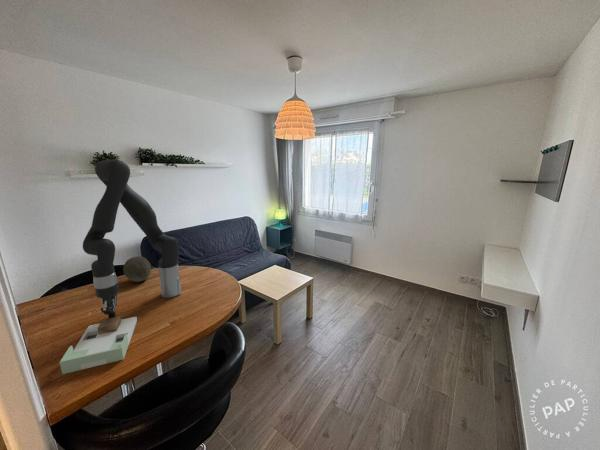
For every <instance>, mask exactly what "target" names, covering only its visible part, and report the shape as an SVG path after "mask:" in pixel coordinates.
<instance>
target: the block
mask: <svg viewBox="0 0 600 450" xmlns="http://www.w3.org/2000/svg"><path fill="white" fill-rule="evenodd" d="M120 323H121V316H119V315H118V316H116V317H112V318H109V317H108V318H104V319H102V320H101V322H100V325H99V326H98V328H97V329H98V334H104V333H109V332H114V331H117V329H118V327H119V325H120Z"/></svg>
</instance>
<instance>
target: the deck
mask: <svg viewBox="0 0 600 450" xmlns="http://www.w3.org/2000/svg"><path fill="white" fill-rule="evenodd" d="M120 320H121V323H120V325H119V327H118V329H117V331H114V332H109V333H104V334H98V329H97V328H98V326H99V325H100V323H101V322H100V323H95V324H91V325H88V327H87V328H86V329H85V331H84V333H83V334H82V336H81V338H80V339H79V341H78V343H77V344H76V345H75V347H74V346H73V345H70V346H69V347H68V348H67V350H66V352H64V354H63V356H62V358H61V359H60V361H59V367H60V369H61V374H62V375H65V374H66V375H67V374H70V373H73V372H74V373H75V372H79V371H82V370H86V369H90V368H94V367H98V366H102V365H106V364H110V363H111V364H112V363H115V362H119V361H123V360H124V359H125V356H126V354H127V350H128V348H129V345H130V342H131V339H132V337H133V334H134V331H135V328H136V325H137V322H138V317H137V316H132V317H128V318H123V319H121V318H120Z"/></svg>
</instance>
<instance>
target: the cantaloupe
mask: <svg viewBox="0 0 600 450" xmlns="http://www.w3.org/2000/svg"><path fill="white" fill-rule="evenodd" d="M122 271H123V274H124V276H125V277H126V278H127V279H128V280H129V281H131V282H135V283H140V282H144V281H145V280H147V279H148V278H149V276H150V275H151V272H152V265H151V263H150V262H149V260H148V259H147V258H145V257H144V256H139V255H138V256H133V257H131V258H129V259H127V260H126V261H125V262H124V265H123V269H122Z"/></svg>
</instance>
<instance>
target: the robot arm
mask: <svg viewBox="0 0 600 450" xmlns="http://www.w3.org/2000/svg"><path fill="white" fill-rule="evenodd" d="M94 171H95V174H96V176H97V178H98V179H99V180H100V181H101V182H102V183H103V185H105V191H104V193H103V195H102V197H101V199H100V200H99V202H98V204H97V205H96V207H95V210H94V212H93V218H92V221H91V227H90V228H89V229H88V231H87V233H86V236H85V237H84V239H83V242H82V250H83V251H84V253H86V254H87V255H89V256H91V255H92V256H97V257H96V258H97V260H94V261H92V263H91V267H90V268H91V272H92V277H93V278H92V279H93V280H92V282H93V286H94V292H95V296H96V298H99V299H101V304H102V305H103V307H100V311H101V312H102V313H103V314H104V315H105V316H106V315H107V317H108V318H112V317H117V313H116V309H117V308H116V307H118V305H117V303H118V293H119V291H120V289H119V283H118V277H117V274H116V272H115V270H116V269H115V264H114V261H115V256H116V254H115V253H116V246H115V242H113V241H112V240H111V239H109V238H105V236H106V234H108V233H111V232H113V231H114V229H115V225H116V218H117V214H118V209H119V206H120V204H121V206H123V208H124V209H125V211H126V212H127V214H128V215H129V216H130V217H131V219H132V220H133V221H134V222H135V223H136V225H137V226H138V227H139V229H140V230H141V232H143V233H144V234H145V236H146V237H147V240H148V241H149V243H150V245H151V246H152V247H153V249H154V250H155V251H156V252H158V253H161V258H160V259H159V260H158V261H157V265H158V274H159V281H160V282H159V283H160V289H161V290H160V291H161V296H162V298H166V299H169V298H174V297H178V296H179V295H181V293H182V287H181V277H180V271H179V260H180V259H179V258H180V251H179V250H180V246H179V241H178V239H176V237H173V236H169V235H166V234H165V233H164V232H163V231H162V229H161V228H160V227H159V224H158V220H157V215H156V212H155V210H154V209H153V208H152V206H151V204H150V203H149V202H148V201H147V200H146V199H145V198H144V197H143V196H141V195H140V194H138V192H137V191H135V190H134V189H133V188H131V186H129V184H128V181H129V179H130V176H131V169H130V166H129V165H128V164H127V162H124V161H123V160H119V159H105V160H101V161H98V162H97V163H96V164H95V166H94Z"/></svg>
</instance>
